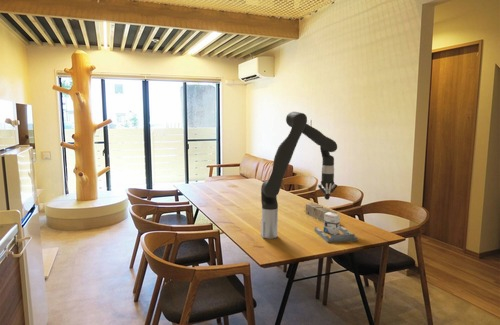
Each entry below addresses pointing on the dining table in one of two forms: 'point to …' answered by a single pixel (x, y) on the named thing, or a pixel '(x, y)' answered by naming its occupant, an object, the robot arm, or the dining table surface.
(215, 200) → the dining table surface
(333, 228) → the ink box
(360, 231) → the dining table surface
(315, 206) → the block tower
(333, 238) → the channel
